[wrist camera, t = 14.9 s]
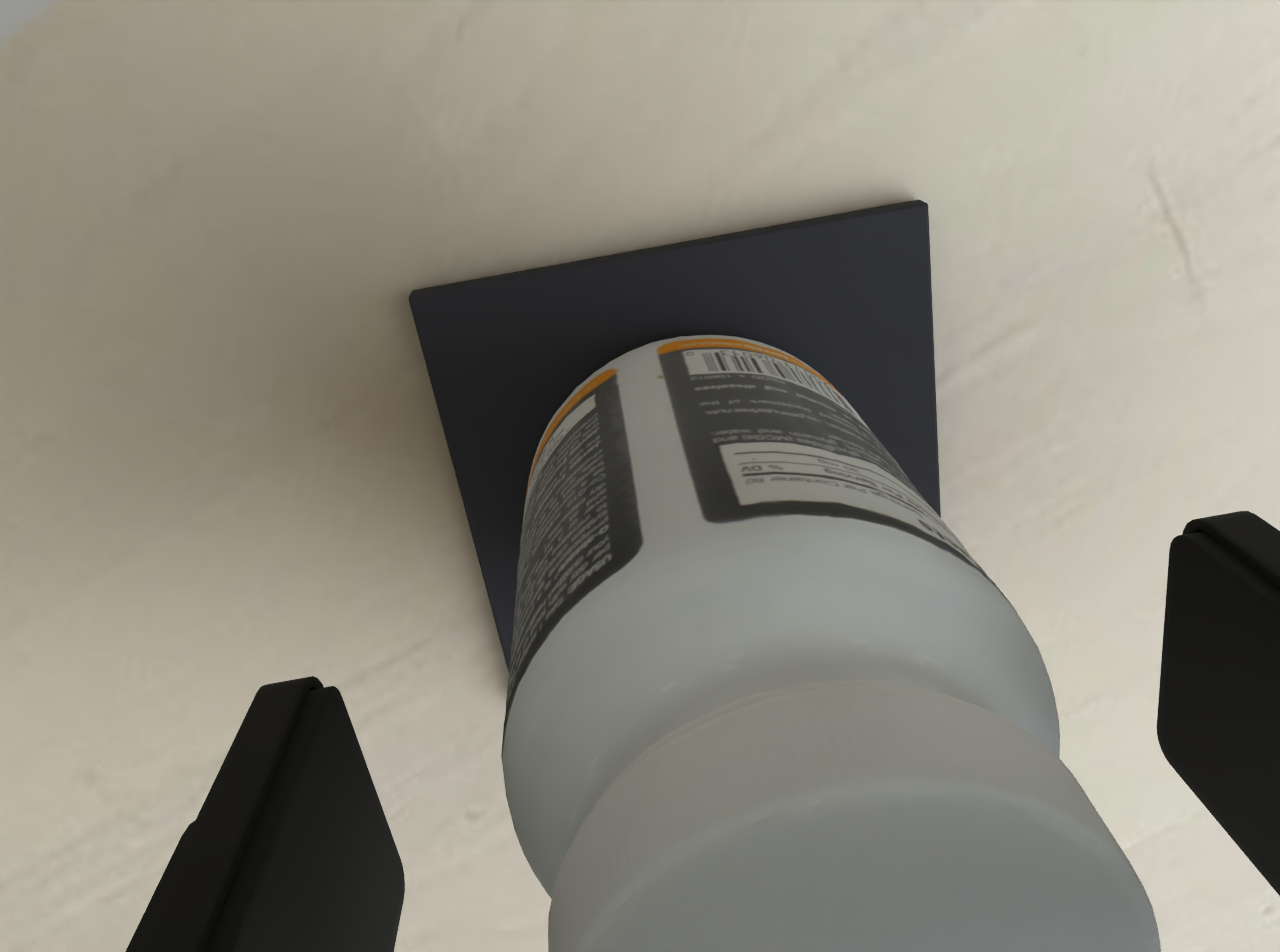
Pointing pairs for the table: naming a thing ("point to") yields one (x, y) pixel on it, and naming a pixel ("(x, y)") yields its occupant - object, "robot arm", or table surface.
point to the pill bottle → (779, 689)
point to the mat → (668, 308)
